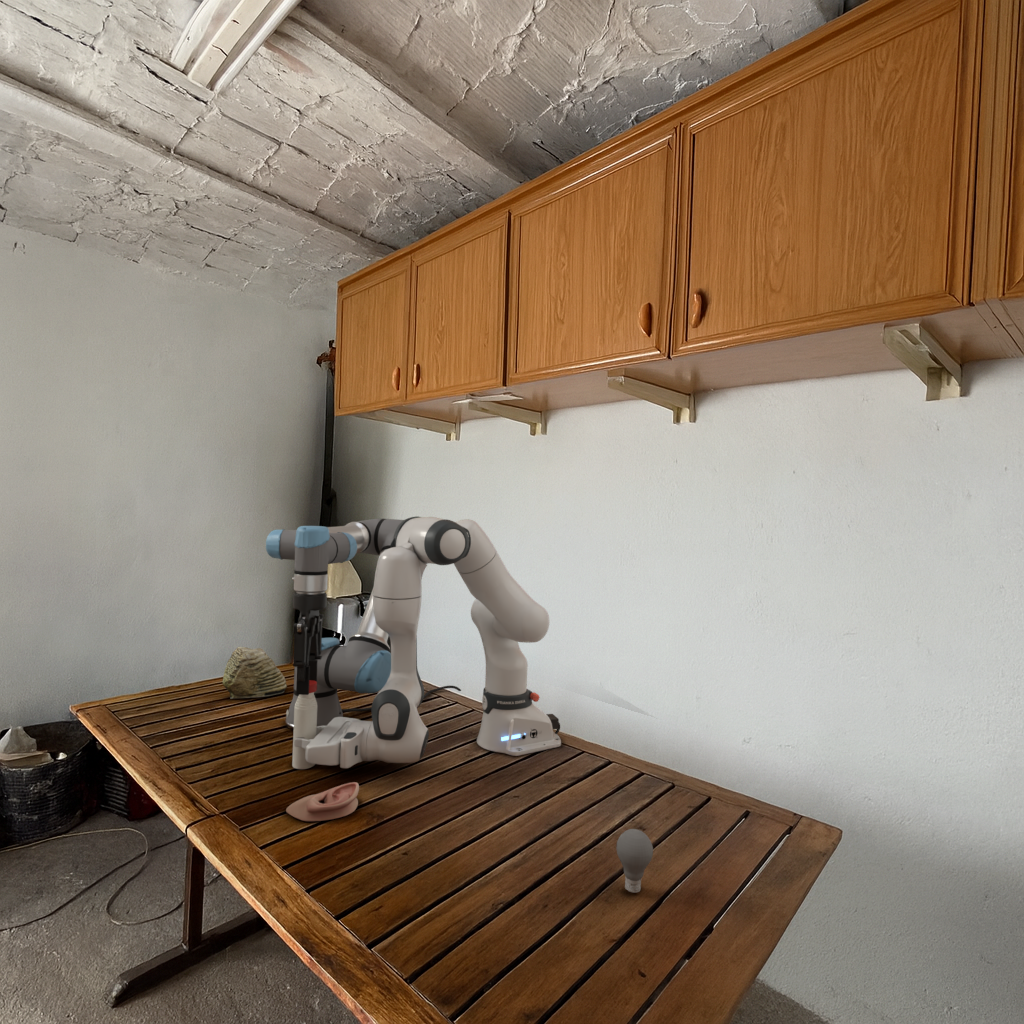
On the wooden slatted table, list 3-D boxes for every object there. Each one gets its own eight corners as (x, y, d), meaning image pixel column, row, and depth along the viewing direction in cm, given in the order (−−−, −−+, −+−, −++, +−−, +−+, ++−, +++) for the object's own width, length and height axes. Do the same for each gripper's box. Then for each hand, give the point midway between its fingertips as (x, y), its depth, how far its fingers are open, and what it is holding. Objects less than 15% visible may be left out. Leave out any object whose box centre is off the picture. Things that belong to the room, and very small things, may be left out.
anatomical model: (278, 797, 124) (308, 772, 135) (277, 817, 124) (307, 791, 136) (340, 806, 122) (366, 781, 133) (339, 827, 122) (365, 799, 133)
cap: (309, 694, 146) (309, 686, 146) (292, 692, 147) (292, 684, 147) (320, 689, 150) (320, 681, 150) (303, 686, 152) (303, 679, 152)
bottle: (307, 770, 146) (310, 688, 146) (287, 767, 147) (290, 686, 147) (319, 762, 151) (322, 682, 151) (300, 758, 152) (303, 680, 152)
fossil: (218, 695, 195) (220, 647, 195) (278, 685, 208) (279, 640, 207) (228, 703, 189) (230, 653, 188) (289, 692, 201) (290, 645, 201)
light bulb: (610, 879, 108) (613, 822, 108) (644, 879, 109) (647, 822, 109) (619, 902, 102) (622, 840, 102) (655, 901, 103) (658, 840, 103)
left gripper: (307, 586, 157) (304, 679, 158) (279, 596, 140) (275, 701, 140) (337, 587, 157) (333, 680, 158) (313, 598, 140) (309, 703, 140)
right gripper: (371, 712, 159) (317, 708, 159) (345, 743, 138) (283, 739, 139) (370, 737, 159) (316, 733, 159) (344, 772, 138) (282, 767, 139)
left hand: (306, 690), depth 149 cm, fingers closed on cap, 4 cm apart
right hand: (301, 736), depth 149 cm, fingers closed on bottle, 5 cm apart
